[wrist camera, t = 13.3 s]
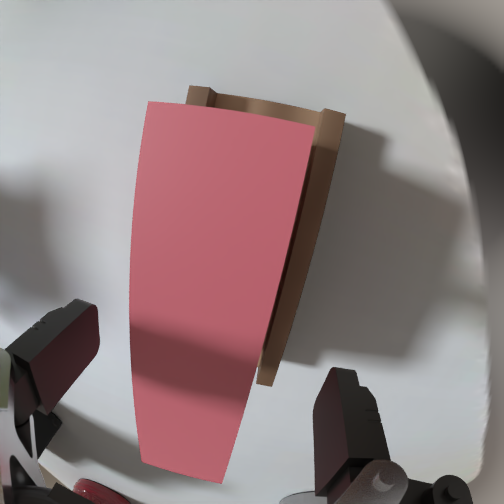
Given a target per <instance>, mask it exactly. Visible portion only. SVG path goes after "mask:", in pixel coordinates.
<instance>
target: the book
mask: <svg viewBox="0 0 504 504" xmlns="http://www.w3.org/2000/svg"><path fill="white" fill-rule="evenodd" d="M314 131H315V127H314V126H310V125H306V124H301V123H297V122H292V121H288V120H283V119H278V118H273V117H268V116H262V115H257V114H251V113H245V112H239V111H233V110H226V109H219V108H212V107H204V106H195V105H186V104H176V103H164V102H150V101H148V106H147V111H146V117H145V123H144V129H143V135H142V141H141V148H140V155H139V162H138V170H137V179H136V188H135V197H134V208H133V221H132V235H131V253H130V285H129V321H130V353H131V371H132V385H133V396H134V407H135V416H136V425H137V433H138V440H139V447H140V454H141V460H142V462H144V463H147V464H150V465H153V466H156V467H159V468H162V469H165V470H169V471H172V472H175V473H179V474H183V475H186V476H190V477H194V478H198V479H202V480H206V481H211V482H215V483H220V484H222V482H223V478H224V475H225V472H226V469H227V466H228V463H229V459H230V456H231V453H232V450H233V447H234V443H235V440H236V437H237V433H238V430H239V427H240V423H241V420H242V417H243V413H244V410H245V407H246V403H247V400H248V396H249V393H250V389H251V386H252V382H253V379H254V375H255V372H256V368H257V365H258V361H259V357H260V354H261V350H262V346H263V343H264V339H265V335H266V332H267V328H268V324H269V320H270V317H271V313H272V309H273V305H274V301H275V298H276V294H277V290H278V286H279V282H280V278H281V274H282V270H283V266H284V262H285V258H286V254H287V250H288V246H289V242H290V238H291V233H292V229H293V225H294V221H295V217H296V212H297V208H298V204H299V199H300V195H301V191H302V186H303V182H304V177H305V173H306V168H307V164H308V159H309V155H310V150H311V146H312V141H313V136H314Z"/></svg>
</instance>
